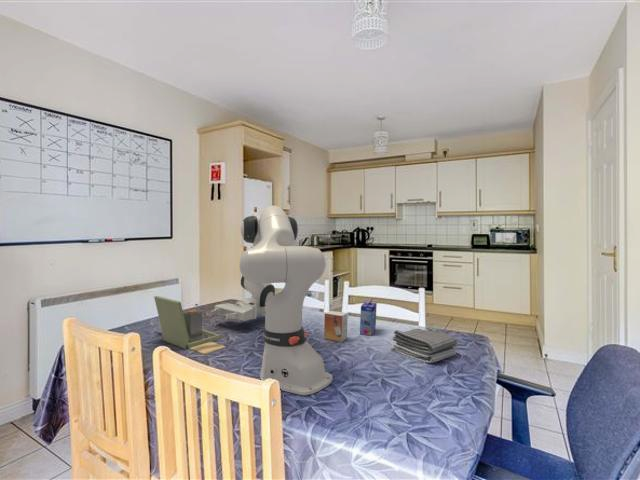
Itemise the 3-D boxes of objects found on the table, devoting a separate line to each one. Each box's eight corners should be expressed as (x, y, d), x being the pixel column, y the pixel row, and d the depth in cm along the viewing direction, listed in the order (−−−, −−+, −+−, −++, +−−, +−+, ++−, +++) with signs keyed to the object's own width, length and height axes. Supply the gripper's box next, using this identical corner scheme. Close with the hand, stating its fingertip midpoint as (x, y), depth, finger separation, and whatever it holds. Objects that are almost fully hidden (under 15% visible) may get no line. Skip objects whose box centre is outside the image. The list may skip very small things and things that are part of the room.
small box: (323, 339, 135) (323, 313, 135) (329, 335, 140) (330, 310, 140) (342, 342, 131) (342, 315, 131) (347, 338, 136) (347, 312, 136)
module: (202, 339, 134) (201, 310, 134) (190, 342, 130) (190, 313, 130) (194, 336, 137) (194, 308, 137) (183, 340, 133) (183, 311, 133)
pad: (225, 347, 125) (225, 346, 125) (204, 354, 118) (204, 353, 118) (211, 342, 130) (211, 341, 130) (189, 349, 123) (190, 347, 123)
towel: (433, 367, 109) (433, 343, 109) (388, 350, 123) (389, 329, 123) (457, 356, 119) (458, 334, 118) (414, 342, 133) (414, 322, 133)
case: (220, 338, 135) (220, 294, 134) (178, 351, 121) (178, 302, 120) (195, 330, 145) (195, 289, 145) (154, 341, 131) (154, 296, 130)
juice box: (372, 336, 139) (373, 301, 139) (359, 334, 141) (359, 300, 141) (376, 329, 149) (376, 296, 148) (364, 328, 150) (364, 295, 150)
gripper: (229, 298, 160) (203, 304, 149) (259, 305, 148) (233, 311, 137) (229, 312, 161) (204, 318, 150) (259, 319, 148) (233, 326, 137)
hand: (218, 315), depth 143 cm, fingers open, 8 cm apart
